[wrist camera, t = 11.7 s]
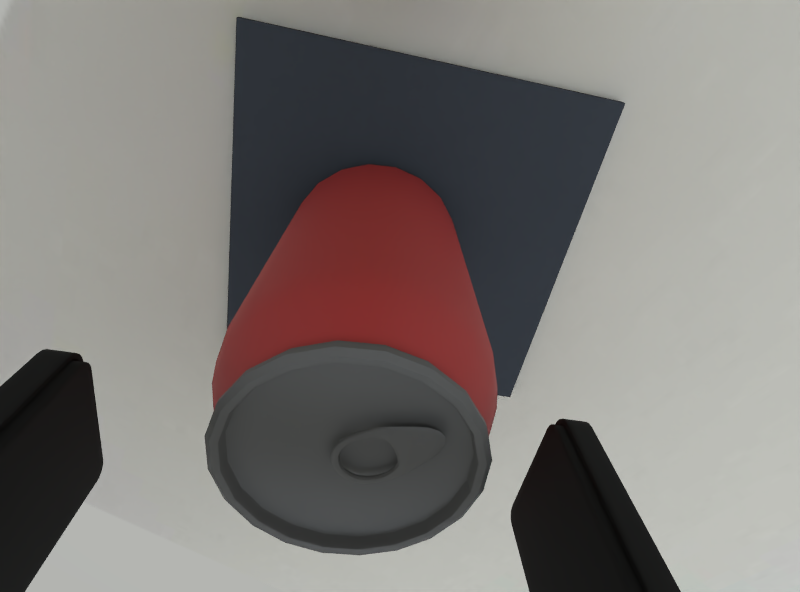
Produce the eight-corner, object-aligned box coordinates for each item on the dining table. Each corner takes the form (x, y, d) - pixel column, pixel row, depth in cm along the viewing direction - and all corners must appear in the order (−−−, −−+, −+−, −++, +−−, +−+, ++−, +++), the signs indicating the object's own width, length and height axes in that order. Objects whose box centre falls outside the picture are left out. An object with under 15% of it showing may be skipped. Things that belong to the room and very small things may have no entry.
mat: (228, 348, 23) (225, 353, 22) (239, 17, 16) (236, 16, 16) (508, 392, 24) (510, 397, 24) (621, 101, 18) (625, 102, 17)
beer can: (472, 282, 21) (551, 533, 10) (334, 327, 22) (274, 596, 11) (424, 135, 18) (463, 270, 7) (266, 194, 19) (99, 390, 8)
